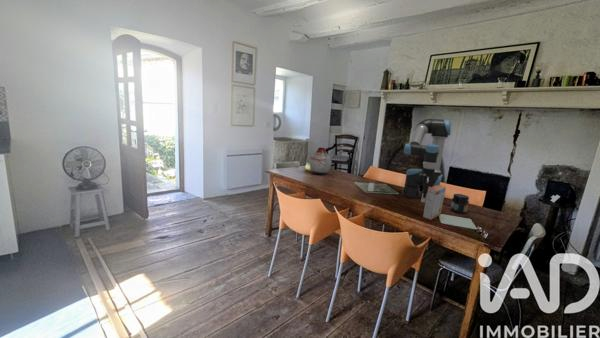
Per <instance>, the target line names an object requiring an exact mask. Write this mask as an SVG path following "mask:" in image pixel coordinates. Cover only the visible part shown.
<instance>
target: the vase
mask: <svg viewBox="0 0 600 338" xmlns="http://www.w3.org/2000/svg"><path fill="white" fill-rule="evenodd" d="M331 167H332V157H331V155H329V153H328V152H327V151H326V147H318V148H317V150H316V151H315V152H314V153H312V155H311V156H310V157H309V168H310V170H311V171H312V173H313V174H315V175H317V176H319V175H320V176H324V175H326V174H327V173H329V171H330V169H331Z"/></svg>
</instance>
